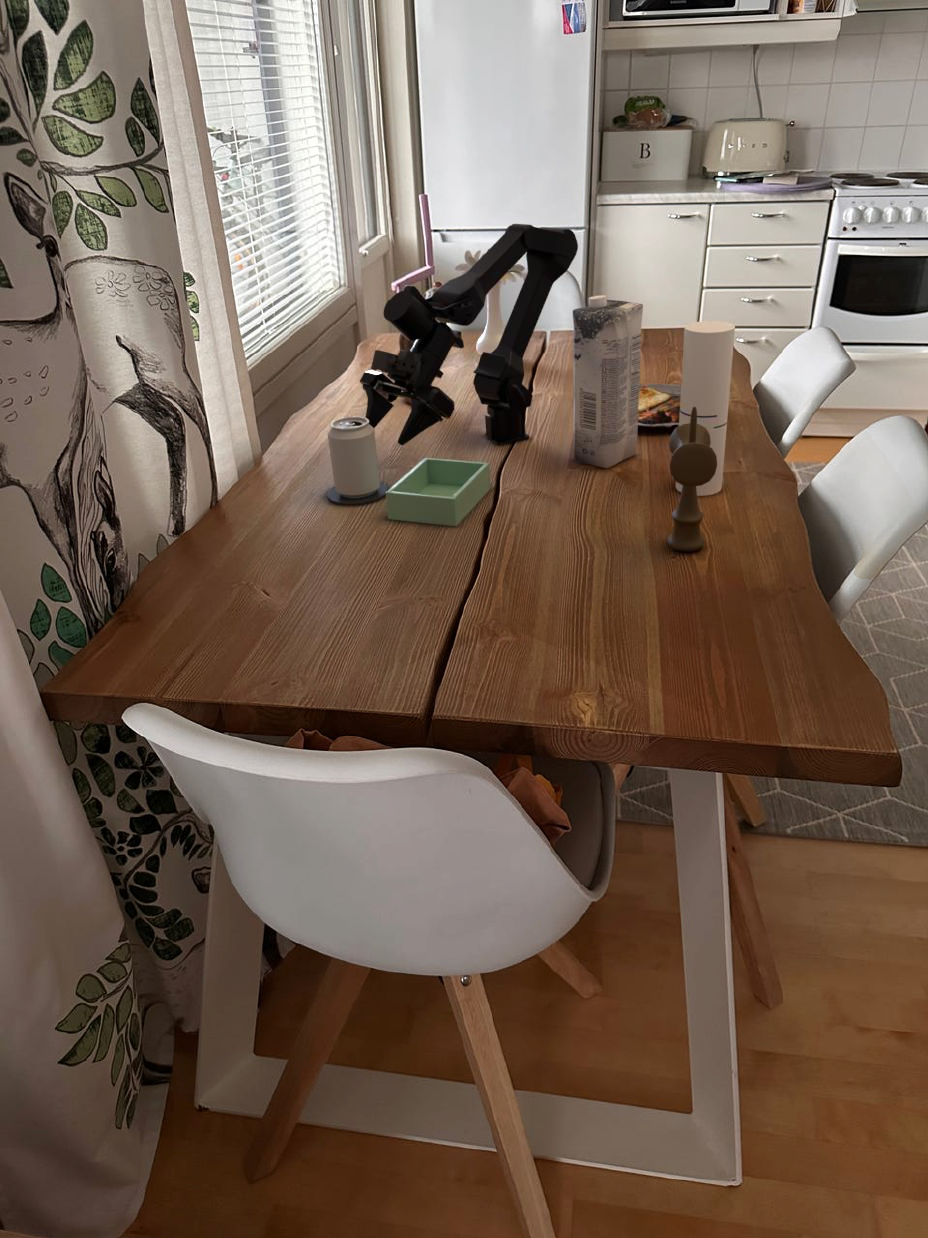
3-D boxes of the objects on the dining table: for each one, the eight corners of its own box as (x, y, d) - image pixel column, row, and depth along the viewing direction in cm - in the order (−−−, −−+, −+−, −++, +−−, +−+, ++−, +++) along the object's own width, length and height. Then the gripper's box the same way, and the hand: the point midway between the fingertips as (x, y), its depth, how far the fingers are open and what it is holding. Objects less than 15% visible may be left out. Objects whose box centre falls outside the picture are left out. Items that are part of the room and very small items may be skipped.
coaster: (377, 478, 159) (376, 476, 159) (395, 497, 151) (395, 495, 151) (320, 489, 156) (320, 487, 156) (336, 510, 148) (336, 508, 148)
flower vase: (537, 365, 216) (535, 251, 203) (458, 368, 217) (452, 255, 205) (537, 351, 227) (535, 242, 215) (462, 354, 229) (456, 246, 216)
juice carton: (643, 454, 162) (650, 293, 148) (608, 472, 155) (611, 306, 142) (601, 444, 167) (604, 288, 154) (566, 461, 161) (565, 300, 147)
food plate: (659, 444, 165) (660, 425, 164) (564, 418, 181) (564, 401, 179) (741, 410, 179) (743, 392, 177) (646, 389, 195) (646, 372, 193)
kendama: (664, 561, 126) (672, 418, 116) (662, 531, 134) (669, 395, 124) (710, 562, 125) (721, 417, 115) (705, 532, 133) (715, 394, 123)
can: (389, 490, 153) (382, 420, 147) (351, 504, 149) (342, 432, 143) (364, 479, 158) (356, 410, 152) (327, 491, 154) (317, 421, 148)
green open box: (427, 482, 156) (425, 457, 154) (490, 488, 152) (489, 462, 150) (388, 519, 144) (385, 492, 142) (456, 526, 140) (454, 498, 138)
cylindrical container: (670, 480, 150) (678, 323, 138) (713, 476, 151) (725, 319, 138) (682, 497, 144) (692, 334, 132) (727, 493, 145) (742, 330, 132)
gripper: (361, 321, 154) (316, 403, 153) (435, 336, 142) (386, 425, 141) (402, 358, 162) (360, 435, 162) (475, 375, 150) (430, 459, 149)
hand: (382, 438), depth 153 cm, fingers open, 9 cm apart
